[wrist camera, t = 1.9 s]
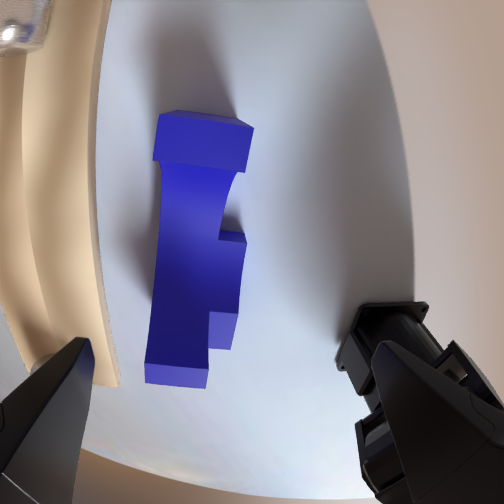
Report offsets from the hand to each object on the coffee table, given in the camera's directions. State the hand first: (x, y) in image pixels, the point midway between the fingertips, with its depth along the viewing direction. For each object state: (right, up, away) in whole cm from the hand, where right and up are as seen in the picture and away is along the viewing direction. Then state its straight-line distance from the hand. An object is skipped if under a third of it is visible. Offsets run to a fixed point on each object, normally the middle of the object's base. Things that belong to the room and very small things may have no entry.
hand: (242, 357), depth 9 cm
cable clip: (-2, +4, +8) cm, 10 cm away
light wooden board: (-12, +5, +6) cm, 15 cm away
